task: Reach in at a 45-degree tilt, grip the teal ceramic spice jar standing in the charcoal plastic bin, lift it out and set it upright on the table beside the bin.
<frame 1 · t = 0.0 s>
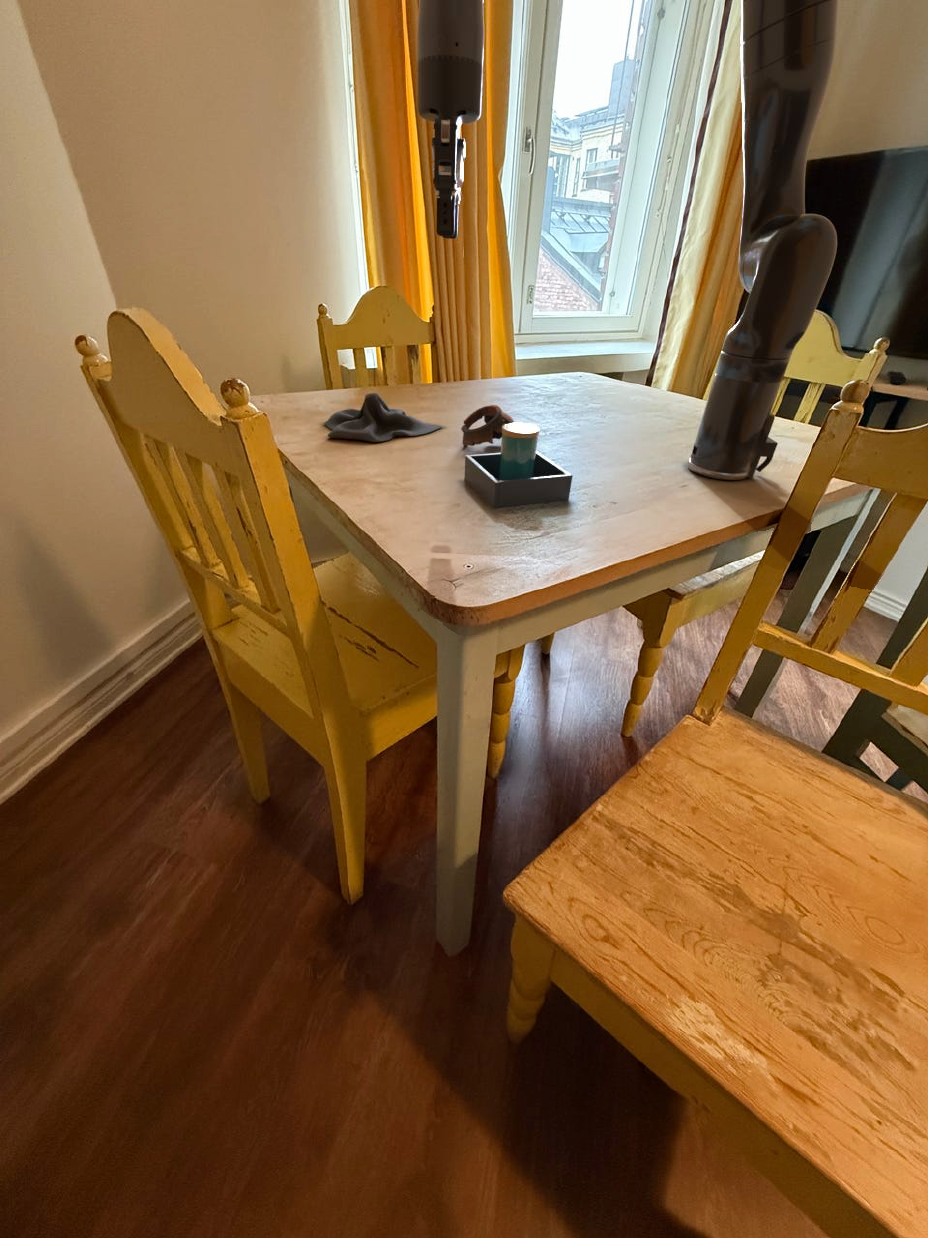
hand: (447, 237, 69), 29 cm above the table, tool pointing down, fingers open, 8 cm apart
spice jar: (514, 489, 74), resting on bin
cloth: (381, 428, 99), on the table
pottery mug: (491, 450, 90), on the table
bin: (514, 492, 74), on the table
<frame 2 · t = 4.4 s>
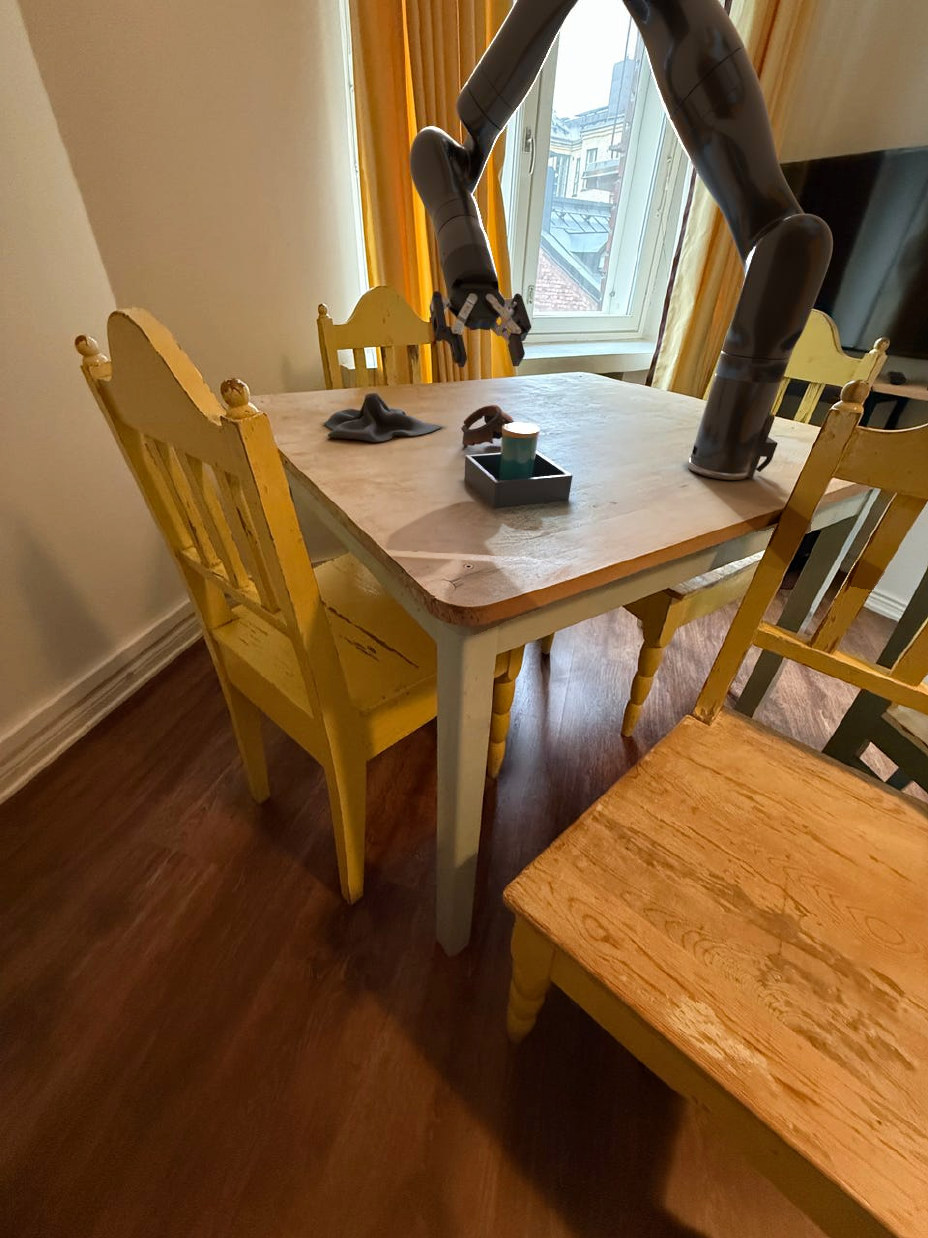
hand: (491, 363, 74), 15 cm above the table, tool tilted 45°, fingers open, 8 cm apart
nothing on the table moved.
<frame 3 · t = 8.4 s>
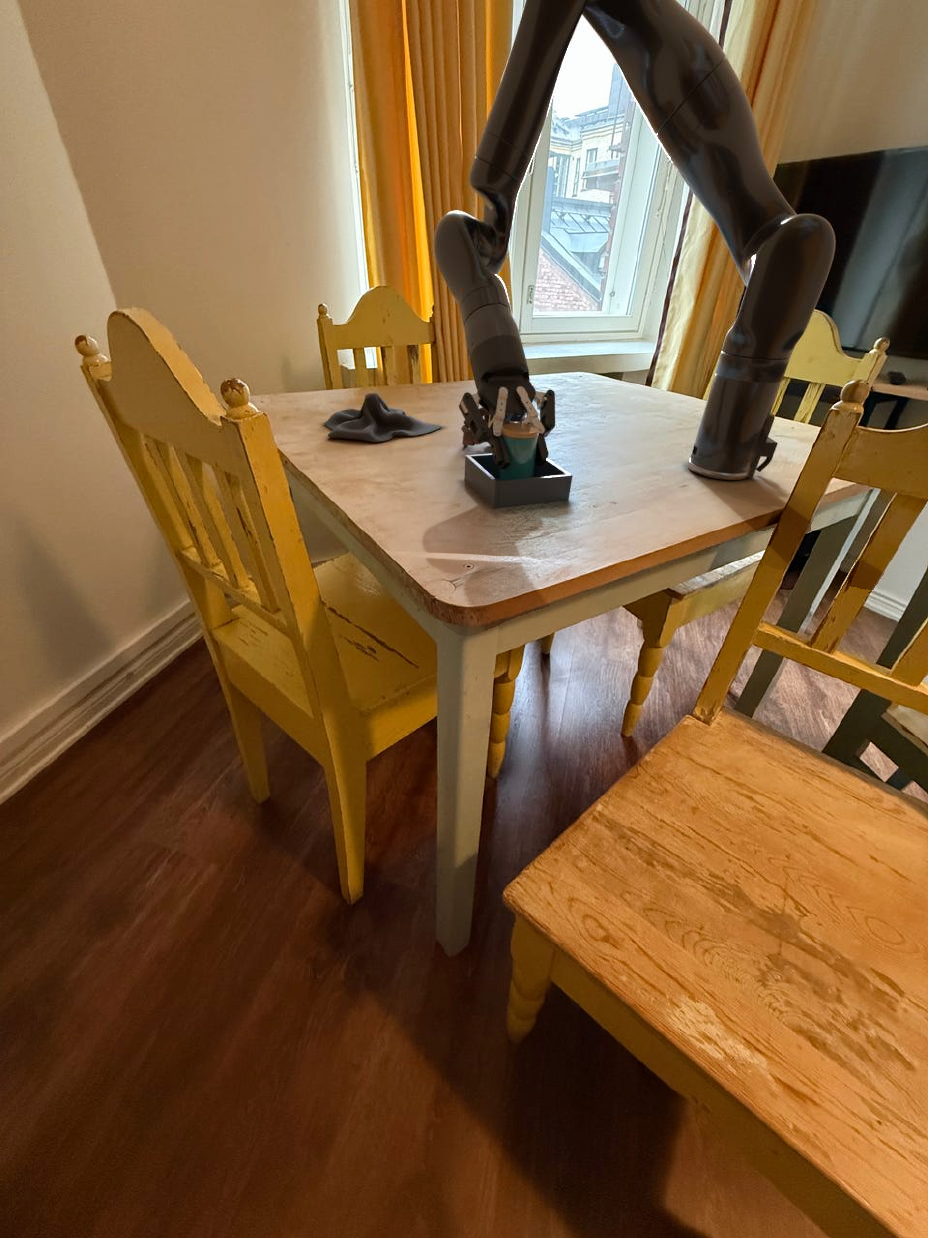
hand: (523, 464, 70), 5 cm above the table, tool tilted 45°, fingers closed on spice jar, 5 cm apart
spice jar: (514, 489, 74), point 1 cm above the table, touching bin, gripper
everything else where it was.
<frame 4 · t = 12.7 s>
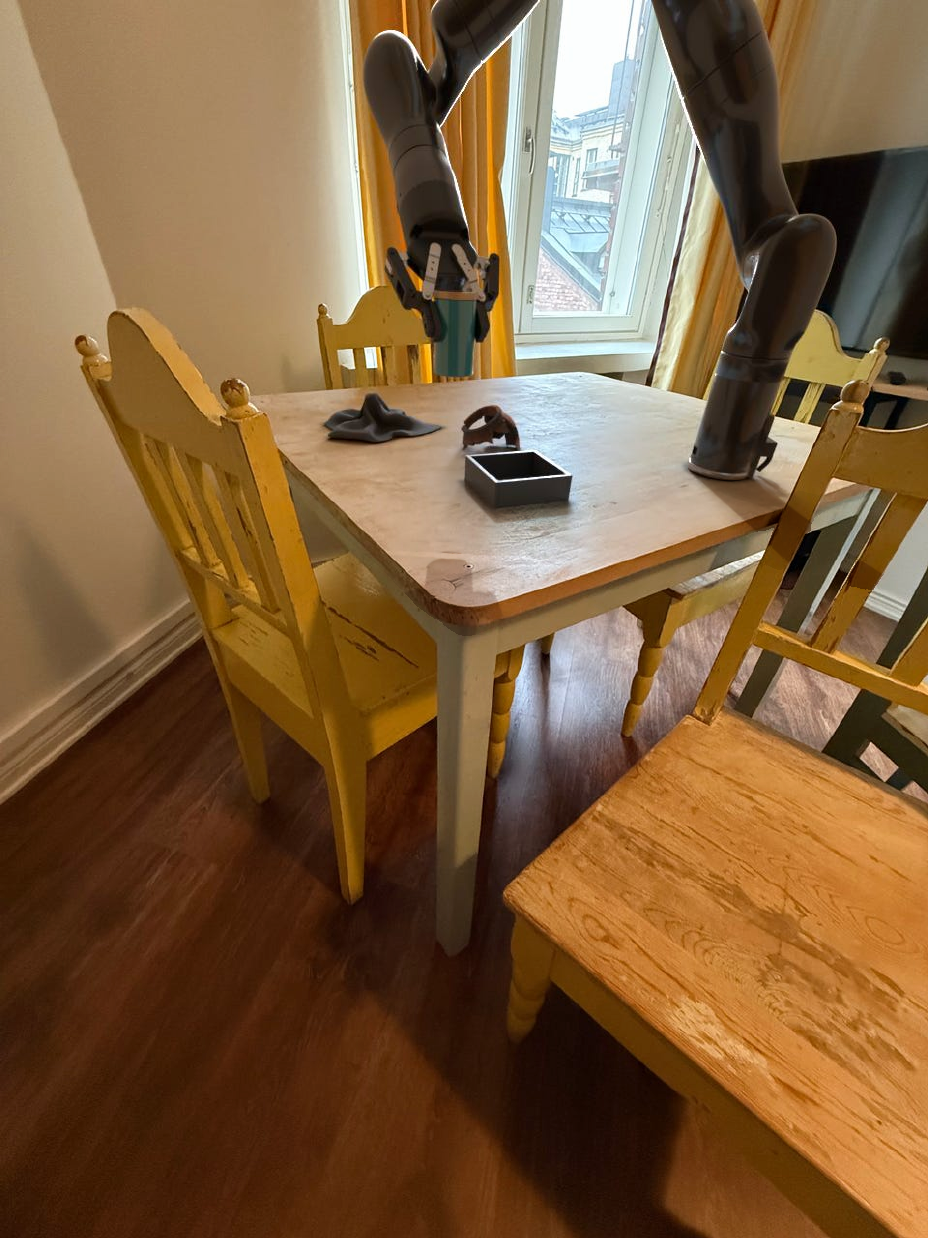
hand: (460, 337, 59), 20 cm above the table, tool tilted 45°, fingers closed on spice jar, 5 cm apart
spice jar: (453, 373, 63), point 16 cm above the table, touching gripper
everything else where it was.
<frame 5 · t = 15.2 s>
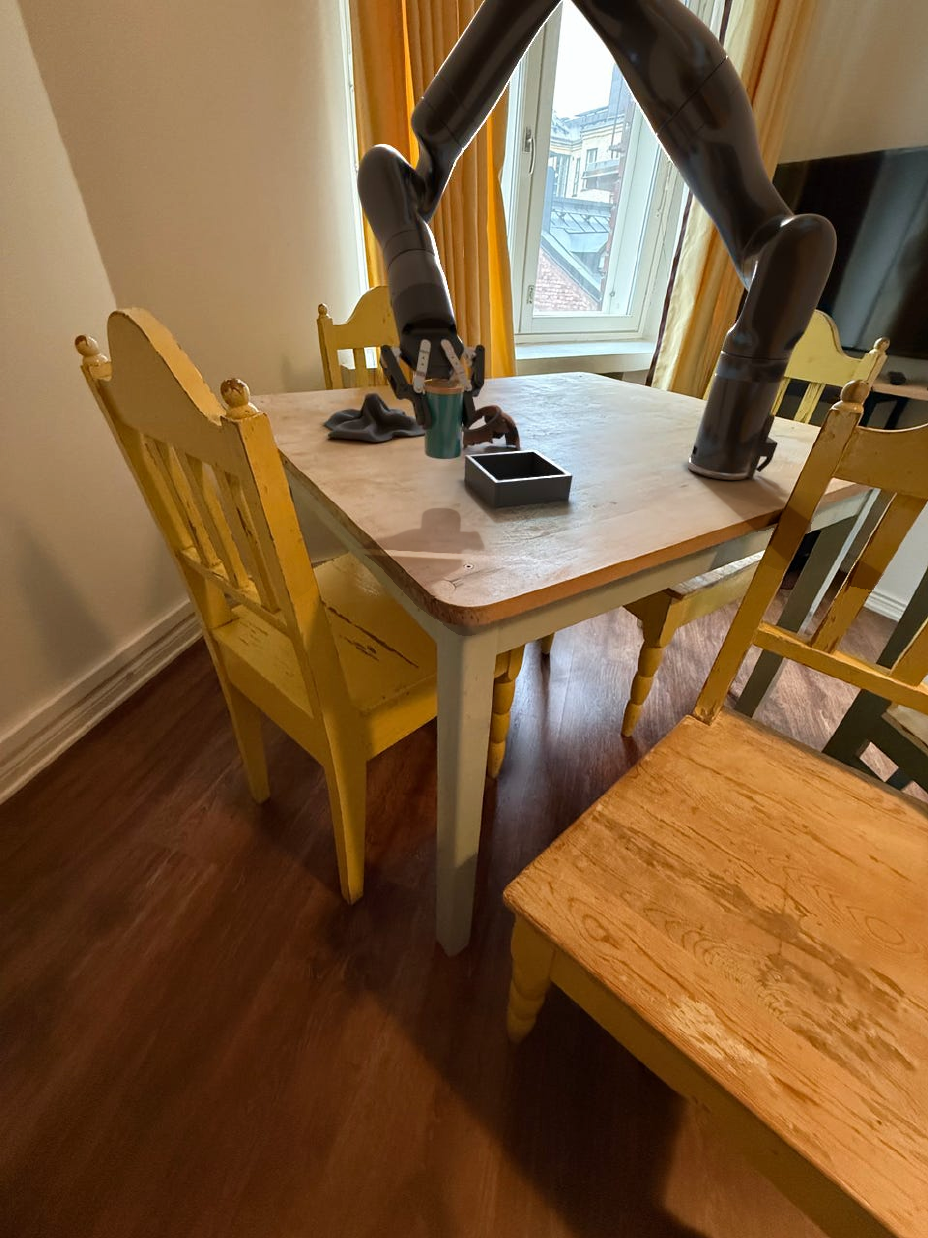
hand: (448, 424, 64), 10 cm above the table, tool tilted 45°, fingers closed on spice jar, 5 cm apart
spice jar: (442, 453, 68), point 6 cm above the table, touching gripper
everything else where it was.
when the fingers open (4 cm above the table, at t = 17.3 s): spice jar stays where it is, on the table.
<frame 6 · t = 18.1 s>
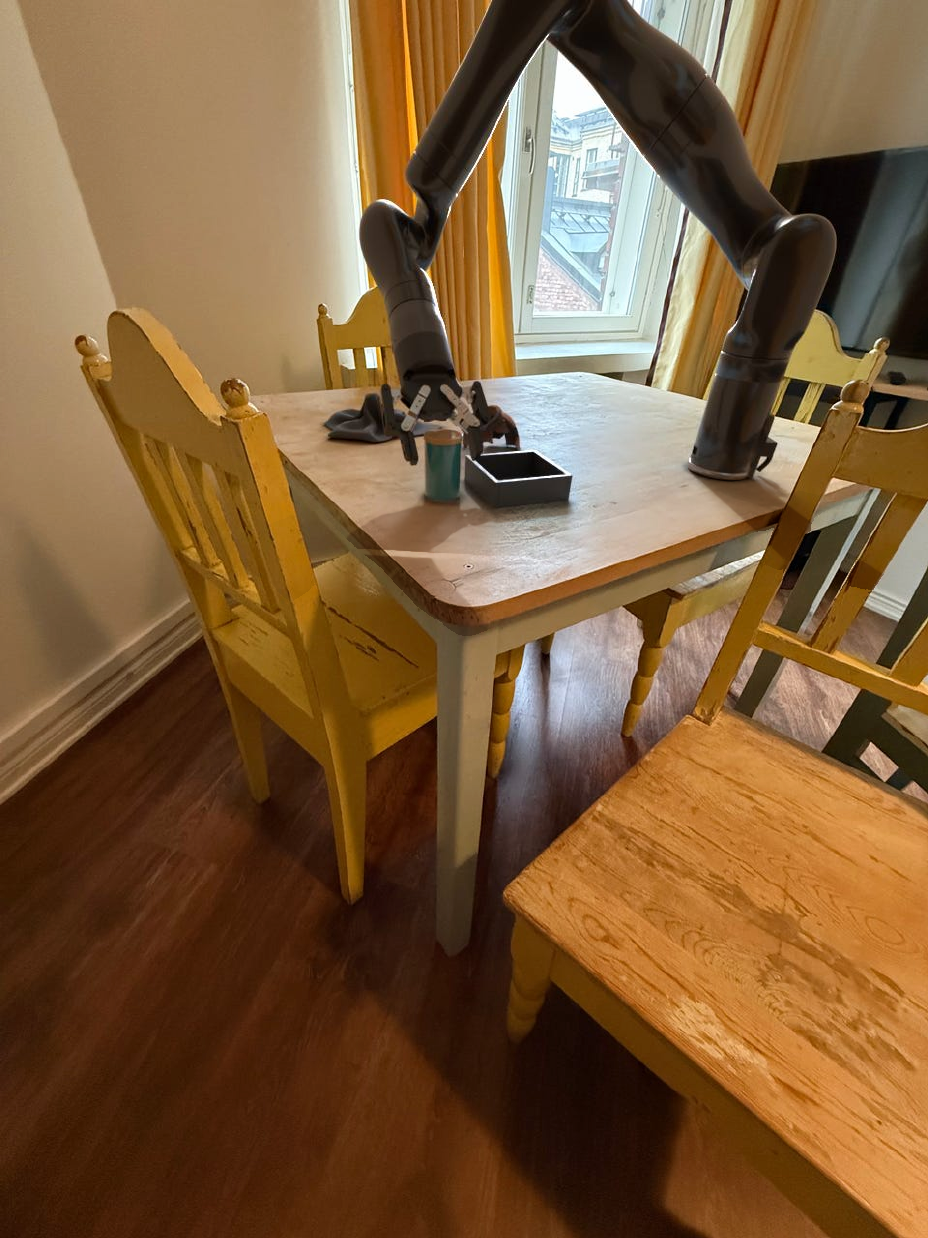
hand: (446, 460, 67), 5 cm above the table, tool tilted 45°, fingers open, 8 cm apart
spice jar: (442, 496, 72), on the table
everything else where it was.
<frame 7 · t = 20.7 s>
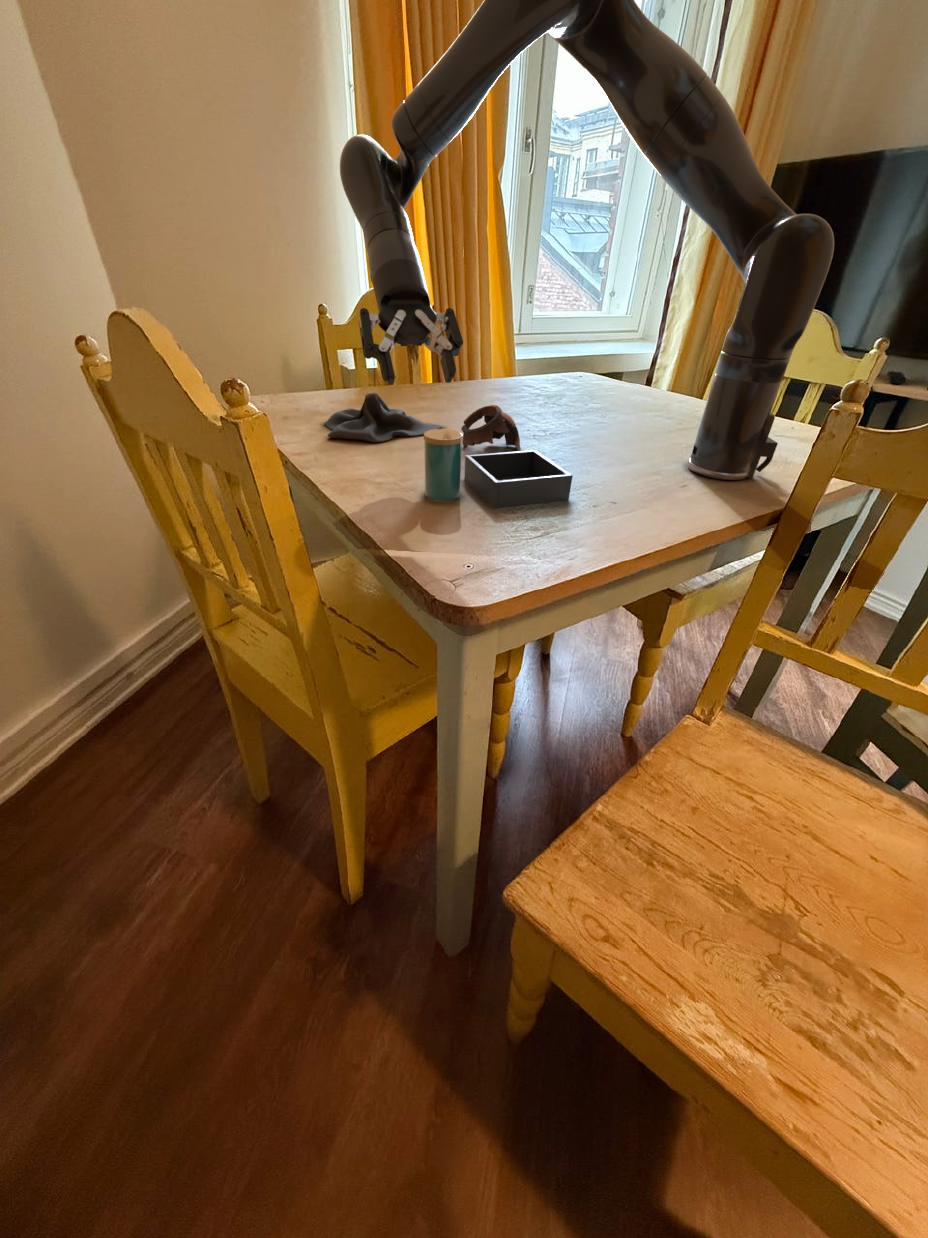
hand: (421, 380, 73), 13 cm above the table, tool tilted 45°, fingers open, 8 cm apart
nothing on the table moved.
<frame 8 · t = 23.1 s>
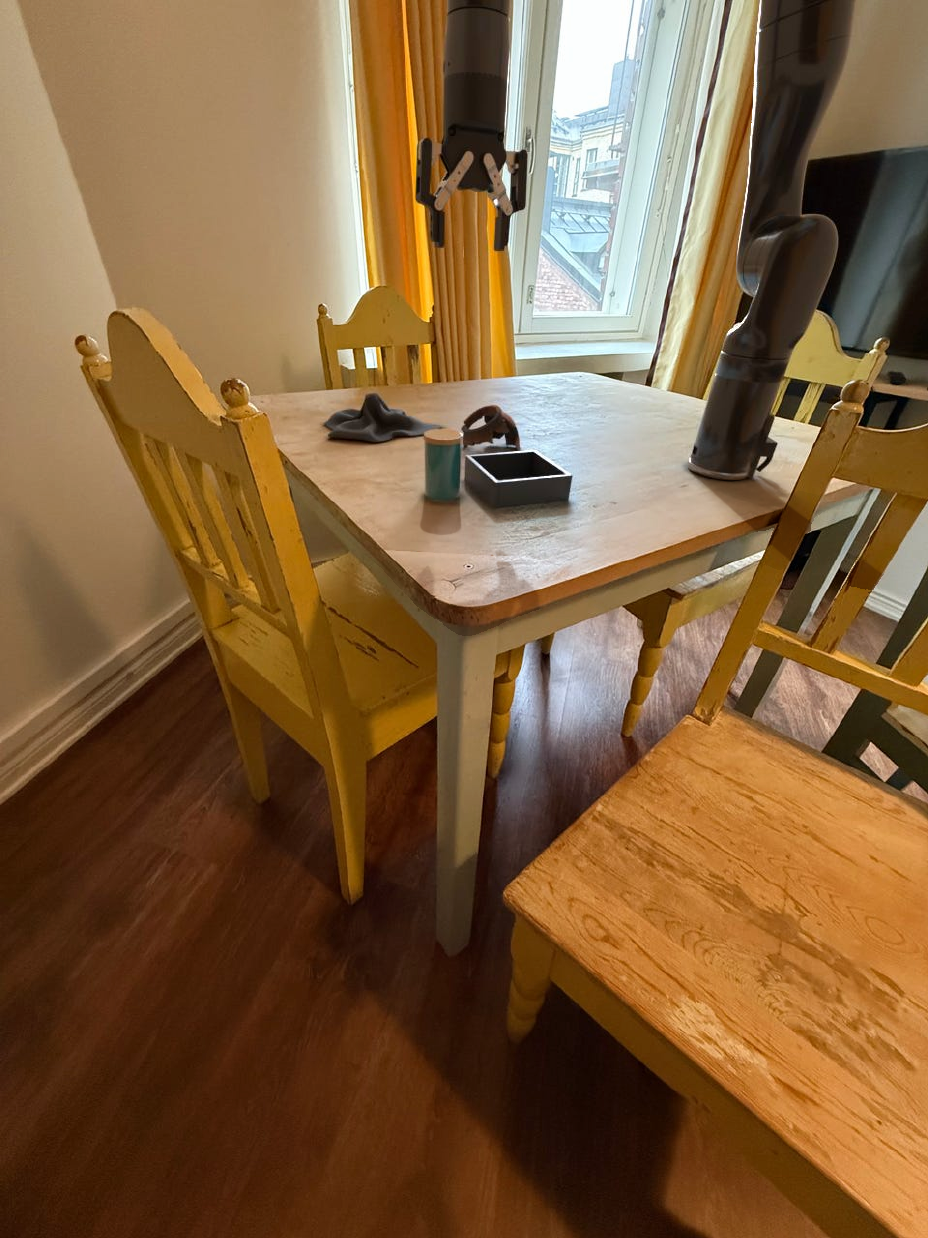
hand: (469, 249, 69), 28 cm above the table, tool pointing down, fingers open, 8 cm apart
nothing on the table moved.
at the end: spice jar inside the target area (0.1 cm from its centre), on the table; spice jar tilted 0°; spice jar touching table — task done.
